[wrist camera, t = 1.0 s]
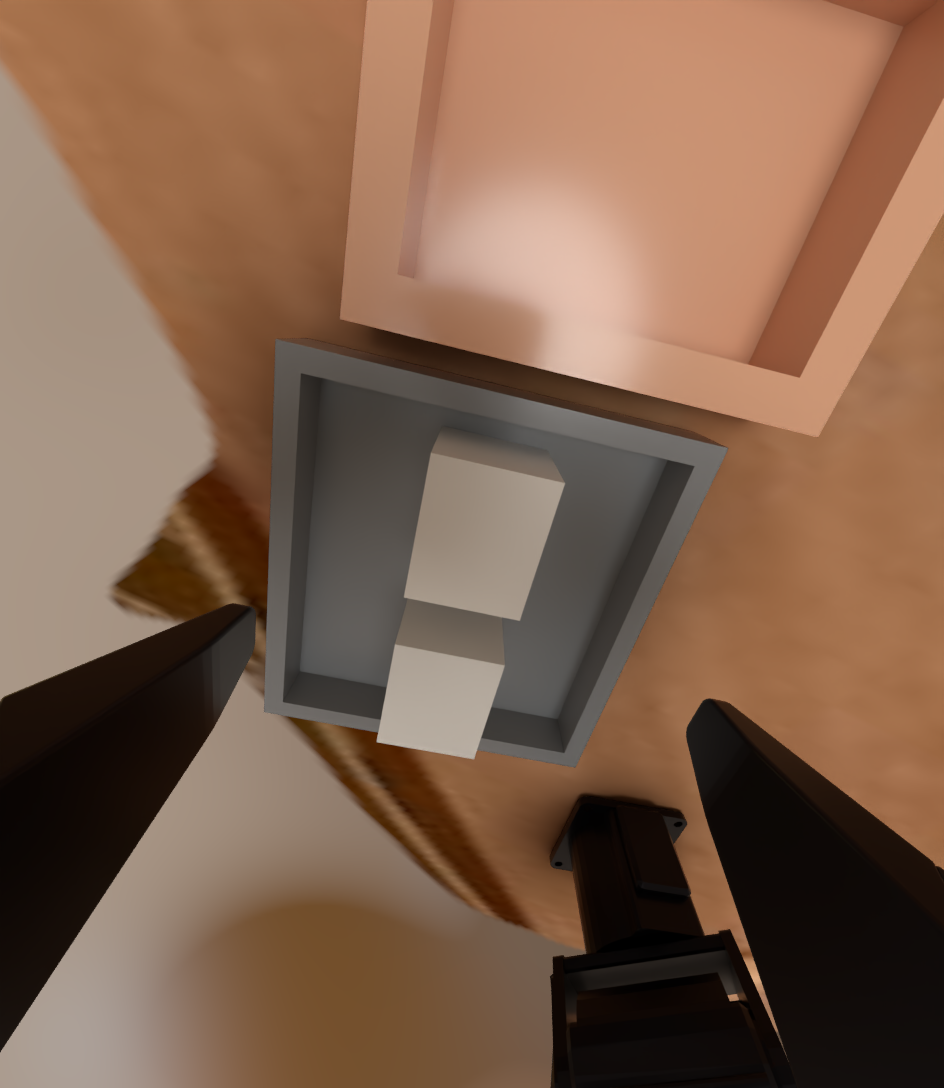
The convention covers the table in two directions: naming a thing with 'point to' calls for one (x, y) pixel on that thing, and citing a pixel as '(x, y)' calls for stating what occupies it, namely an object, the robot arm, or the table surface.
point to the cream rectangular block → (482, 523)
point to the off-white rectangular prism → (442, 679)
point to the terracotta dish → (649, 188)
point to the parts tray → (390, 527)
